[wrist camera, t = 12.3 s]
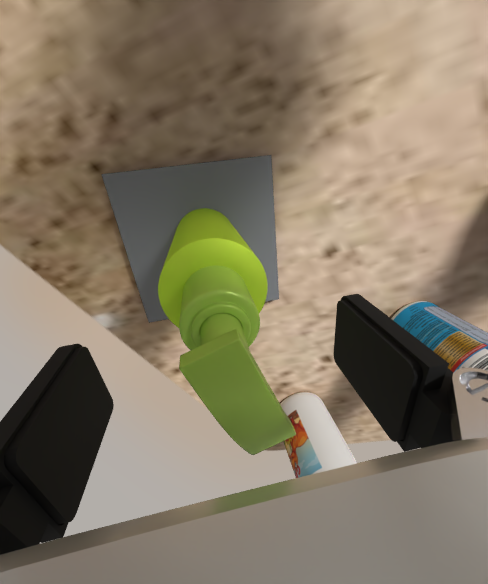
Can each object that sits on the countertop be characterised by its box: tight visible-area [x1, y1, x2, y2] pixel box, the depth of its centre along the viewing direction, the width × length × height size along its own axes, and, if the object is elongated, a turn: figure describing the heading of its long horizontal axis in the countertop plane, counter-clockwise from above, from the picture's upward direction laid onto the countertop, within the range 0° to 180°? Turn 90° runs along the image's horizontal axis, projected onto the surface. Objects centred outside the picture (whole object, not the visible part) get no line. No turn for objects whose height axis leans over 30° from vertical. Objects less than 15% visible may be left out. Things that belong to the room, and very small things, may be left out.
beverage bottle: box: [391, 301, 488, 372], centre depth 27 cm, size 8×8×20 cm
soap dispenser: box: [158, 208, 296, 455], centre depth 17 cm, size 6×7×20 cm
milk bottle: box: [280, 392, 357, 478], centre depth 31 cm, size 8×8×20 cm
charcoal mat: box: [102, 155, 279, 322], centre depth 26 cm, size 15×15×1 cm
